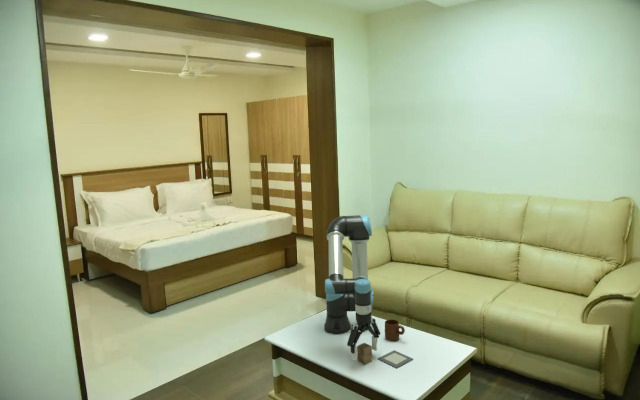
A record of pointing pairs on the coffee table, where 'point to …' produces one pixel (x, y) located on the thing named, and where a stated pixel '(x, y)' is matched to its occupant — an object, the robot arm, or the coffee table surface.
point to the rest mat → (395, 359)
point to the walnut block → (364, 353)
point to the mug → (393, 330)
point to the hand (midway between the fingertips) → (364, 354)
